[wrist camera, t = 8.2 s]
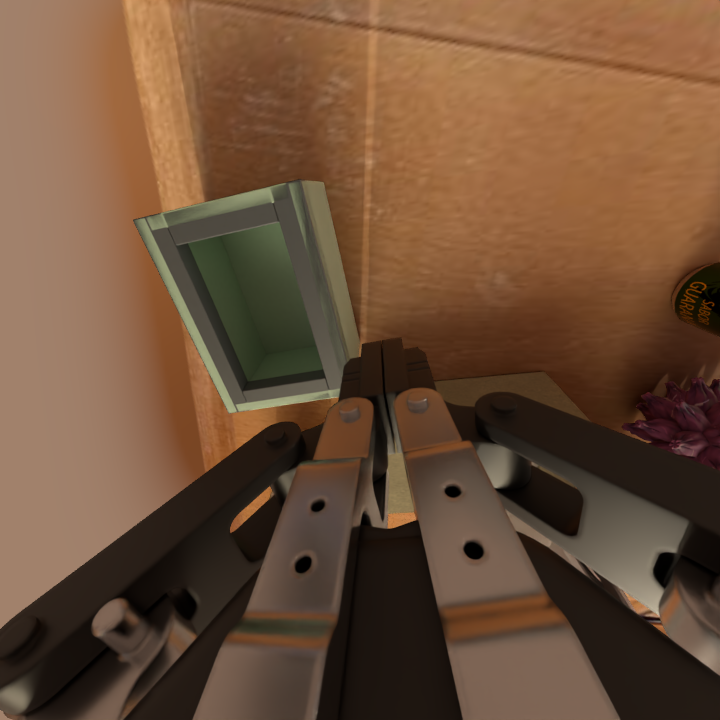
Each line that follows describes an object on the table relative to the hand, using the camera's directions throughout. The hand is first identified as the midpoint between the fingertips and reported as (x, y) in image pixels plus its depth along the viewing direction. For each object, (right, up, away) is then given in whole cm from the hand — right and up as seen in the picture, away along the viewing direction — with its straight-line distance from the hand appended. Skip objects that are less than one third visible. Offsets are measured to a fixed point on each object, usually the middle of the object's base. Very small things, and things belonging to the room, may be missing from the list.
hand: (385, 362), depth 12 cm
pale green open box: (-3, +6, +12) cm, 13 cm away
